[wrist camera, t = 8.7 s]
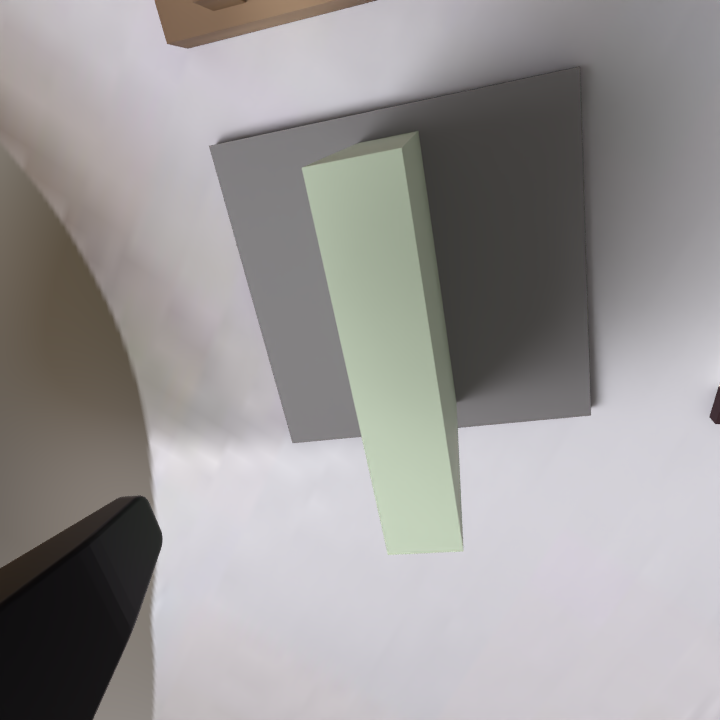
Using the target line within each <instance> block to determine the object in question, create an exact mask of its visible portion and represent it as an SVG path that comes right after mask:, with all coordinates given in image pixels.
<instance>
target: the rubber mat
mask: <svg viewBox="0 0 720 720" xmlns="http://www.w3.org/2000/svg"><path fill="white" fill-rule="evenodd" d="M415 131H418V132H419V139H420V146H421V153H422V160H423V167H424V175H425V182H426V189H427V196H428V203H429V210H430V217H431V224H432V232H433V239H434V246H435V253H436V260H437V267H438V274H439V281H440V289H441V296H442V303H443V310H444V317H445V324H446V331H447V338H448V346H449V353H450V360H451V367H452V374H453V381H454V388H455V395H456V403H457V424H458V428H461V427H472V426H482V425H493V424H504V423H515V422H525V421H536V420H547V419H558V418H568V417H579V416H590V415H591V401H590V370H589V338H588V306H587V275H586V243H585V211H584V180H583V148H582V116H581V84H580V67H575V68H571V69H566V70H561V71H557V72H552V73H547V74H543V75H538V76H533V77H529V78H524V79H519V80H515V81H510V82H505V83H501V84H496V85H491V86H487V87H482V88H477V89H472V90H468V91H463V92H458V93H454V94H449V95H444V96H440V97H435V98H430V99H426V100H421V101H416V102H412V103H407V104H402V105H398V106H393V107H388V108H384V109H379V110H374V111H370V112H365V113H360V114H356V115H351V116H346V117H342V118H337V119H332V120H328V121H323V122H318V123H314V124H309V125H304V126H300V127H295V128H290V129H286V130H281V131H276V132H272V133H267V134H262V135H258V136H253V137H248V138H244V139H239V140H234V141H230V142H225V143H220V144H216V145H211V146H209V147H210V151H211V155H212V158H213V162H214V165H215V169H216V172H217V176H218V179H219V183H220V187H221V190H222V194H223V197H224V201H225V204H226V208H227V211H228V215H229V219H230V222H231V226H232V229H233V233H234V236H235V240H236V243H237V247H238V251H239V254H240V258H241V261H242V265H243V268H244V272H245V275H246V279H247V283H248V286H249V290H250V293H251V297H252V300H253V304H254V307H255V311H256V315H257V318H258V322H259V325H260V329H261V332H262V336H263V339H264V343H265V347H266V350H267V354H268V357H269V361H270V364H271V368H272V371H273V375H274V379H275V382H276V386H277V389H278V393H279V396H280V400H281V403H282V407H283V411H284V414H285V418H286V421H287V425H288V428H289V432H290V435H291V439H292V443H299V442H310V441H321V440H332V439H342V438H353V437H362V436H361V432H360V427H359V423H358V418H357V414H356V409H355V405H354V400H353V396H352V391H351V387H350V382H349V378H348V373H347V369H346V365H345V360H344V356H343V351H342V347H341V342H340V338H339V333H338V329H337V324H336V320H335V315H334V311H333V306H332V302H331V297H330V293H329V288H328V284H327V279H326V275H325V270H324V266H323V261H322V257H321V252H320V248H319V243H318V239H317V235H316V230H315V226H314V221H313V217H312V212H311V208H310V203H309V199H308V194H307V190H306V185H305V181H304V176H303V172H302V167H304V166H307V165H309V164H311V163H313V162H316V161H318V160H320V159H323V158H325V157H327V156H330V155H332V154H334V153H336V152H339V151H341V150H343V149H346V148H348V147H350V146H352V145H355V144H357V143H361V142H366V141H371V140H376V139H381V138H386V137H391V136H395V135H400V134H405V133H410V132H415Z"/></svg>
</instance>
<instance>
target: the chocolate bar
mask: <svg viewBox="0 0 720 720" xmlns="http://www.w3.org/2000/svg"><path fill="white" fill-rule="evenodd" d="M710 418H711V419H712V421H713V422H714V423H715V424H720V384H719V387H718V390H717V394H716V397H715V400H714V404H713V407H712V410H711V414H710Z"/></svg>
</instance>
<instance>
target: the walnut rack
mask: <svg viewBox="0 0 720 720" xmlns="http://www.w3.org/2000/svg"><path fill="white" fill-rule="evenodd" d="M372 1H376V0H155V4H156V7H157V10H158V14H159V17H160V21H161V24H162V28H163V31H164V35H165V38H166V42H167V44H170V45H174V46H179V47H183V48H192V47H196V46H200V45H204V44H208V43H211V42H215V41H219V40H223V39H227V38H231V37H235V36H239V35H243V34H247V33H251V32H255V31H259V30H262V29H266V28H270V27H274V26H278V25H282V24H286V23H290V22H294V21H298V20H302V19H306V18H309V17H313V16H317V15H321V14H325V13H329V12H333V11H337V10H341V9H345V8H349V7H353V6H357V5H360V4H364V3H368V2H372Z"/></svg>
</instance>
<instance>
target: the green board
mask: <svg viewBox="0 0 720 720" xmlns="http://www.w3.org/2000/svg"><path fill="white" fill-rule="evenodd" d="M302 172H303V176H304V181H305V185H306V190H307V194H308V199H309V203H310V208H311V212H312V217H313V221H314V226H315V230H316V235H317V239H318V243H319V248H320V252H321V257H322V261H323V266H324V270H325V275H326V279H327V284H328V288H329V293H330V297H331V302H332V306H333V311H334V315H335V320H336V324H337V329H338V333H339V338H340V342H341V347H342V351H343V356H344V360H345V365H346V369H347V373H348V378H349V382H350V387H351V391H352V396H353V400H354V405H355V409H356V414H357V418H358V423H359V427H360V432H361V436H362V441H363V445H364V450H365V454H366V459H367V463H368V468H369V472H370V477H371V481H372V486H373V490H374V495H375V499H376V504H377V508H378V512H379V517H380V521H381V526H382V530H383V535H384V539H385V544H386V548H387V553H388V555H398V554H419V553H439V552H460V551H463V532H462V510H461V489H460V467H459V446H458V424H457V403H456V395H455V388H454V381H453V374H452V367H451V360H450V353H449V346H448V338H447V331H446V324H445V317H444V310H443V303H442V296H441V289H440V281H439V274H438V267H437V260H436V253H435V246H434V239H433V232H432V224H431V217H430V210H429V203H428V196H427V189H426V182H425V175H424V167H423V160H422V153H421V146H420V139H419V132H418V131H415V132H410V133H405V134H400V135H395V136H391V137H386V138H381V139H376V140H371V141H366V142H361V143H357V144H355V145H352V146H350V147H348V148H346V149H343V150H341V151H339V152H336V153H334V154H332V155H330V156H327V157H325V158H323V159H320V160H318V161H316V162H313V163H311V164H309V165H307V166H304V167H302Z"/></svg>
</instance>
